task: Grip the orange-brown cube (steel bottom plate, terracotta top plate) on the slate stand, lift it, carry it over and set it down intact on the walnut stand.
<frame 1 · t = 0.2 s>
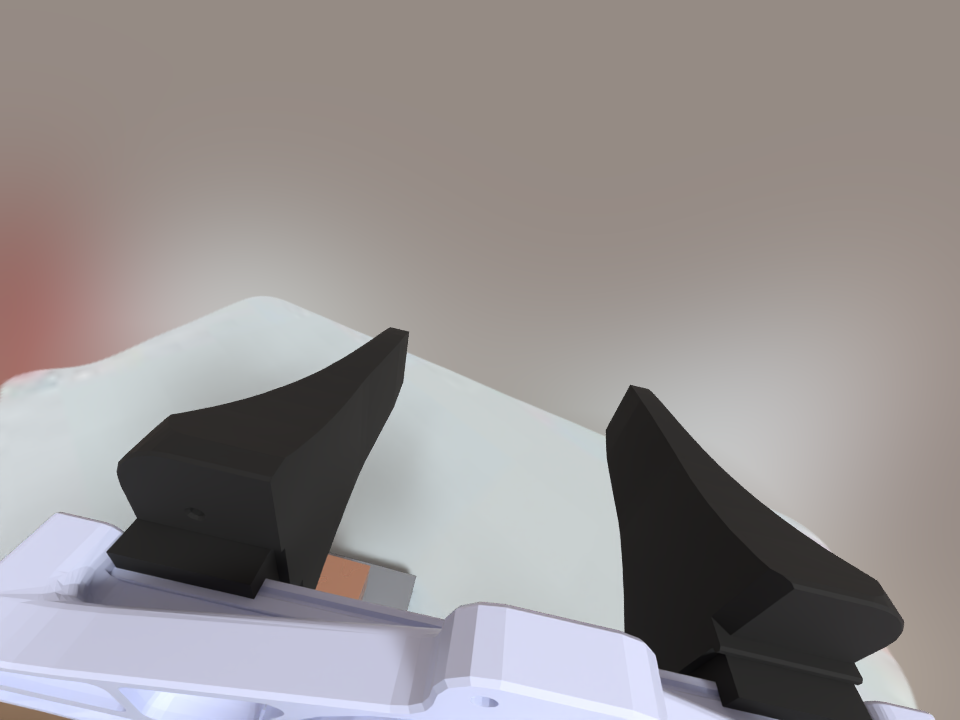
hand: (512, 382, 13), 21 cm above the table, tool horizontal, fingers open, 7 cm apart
slate stand: (307, 648, 23), on the table
orange-brown cube: (307, 640, 23), point 1 cm above the table, touching slate stand
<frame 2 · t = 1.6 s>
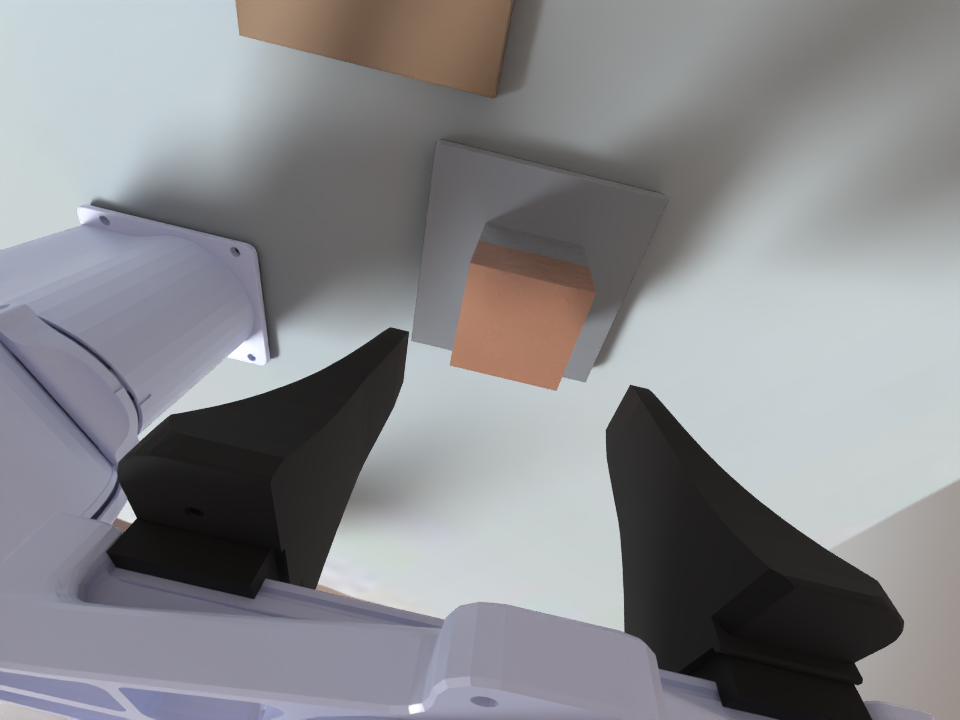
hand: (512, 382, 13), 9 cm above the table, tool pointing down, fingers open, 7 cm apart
slate stand: (522, 270, 21), on the table
orange-brown cube: (521, 280, 20), point 1 cm above the table, touching slate stand
champagne flute: (210, 510, 38), on the table
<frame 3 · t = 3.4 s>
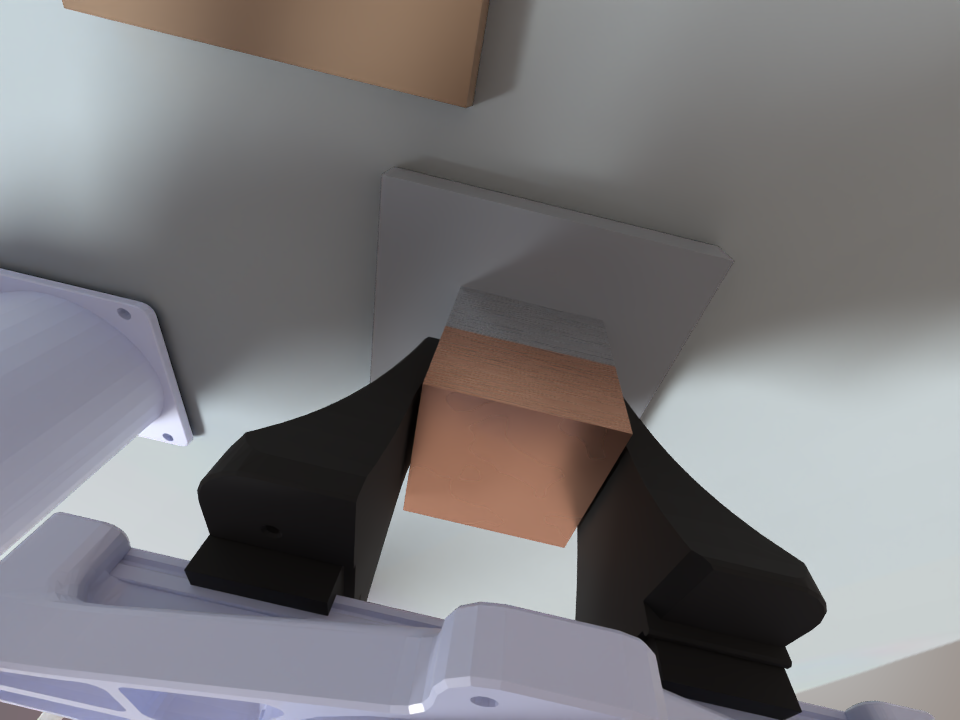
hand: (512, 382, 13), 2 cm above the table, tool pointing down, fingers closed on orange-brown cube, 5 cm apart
slate stand: (515, 343, 15), on the table
orange-brown cube: (514, 361, 14), point 1 cm above the table, touching gripper, slate stand
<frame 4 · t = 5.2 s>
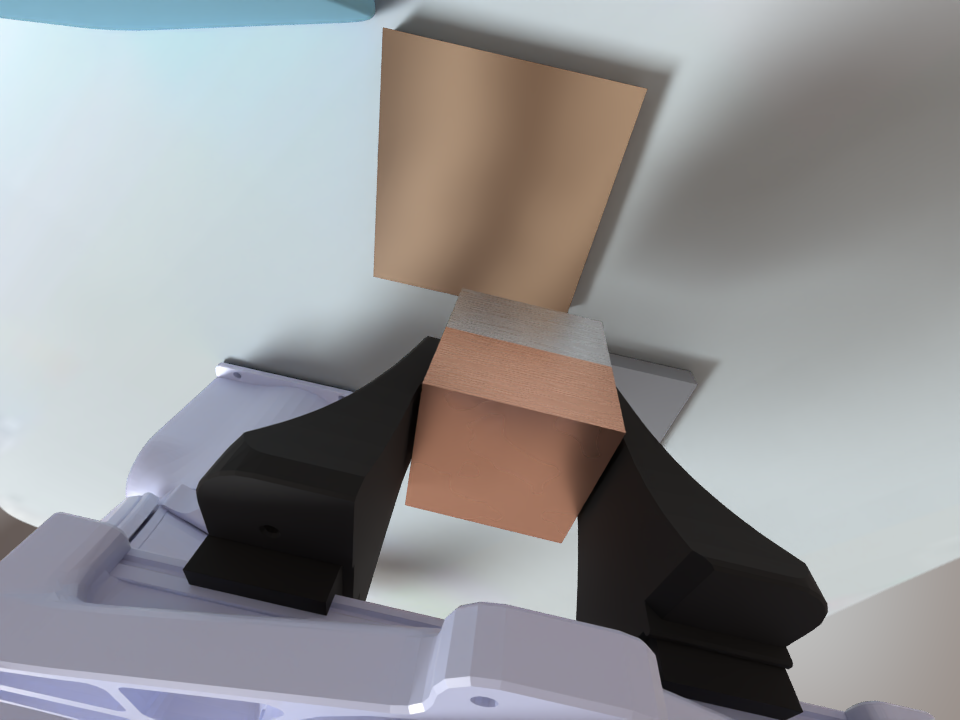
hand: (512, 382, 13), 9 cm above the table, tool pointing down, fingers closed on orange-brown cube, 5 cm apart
slate stand: (576, 415, 26), on the table
orange-brown cube: (514, 361, 14), point 8 cm above the table, touching gripper
walnut stand: (491, 191, 19), on the table
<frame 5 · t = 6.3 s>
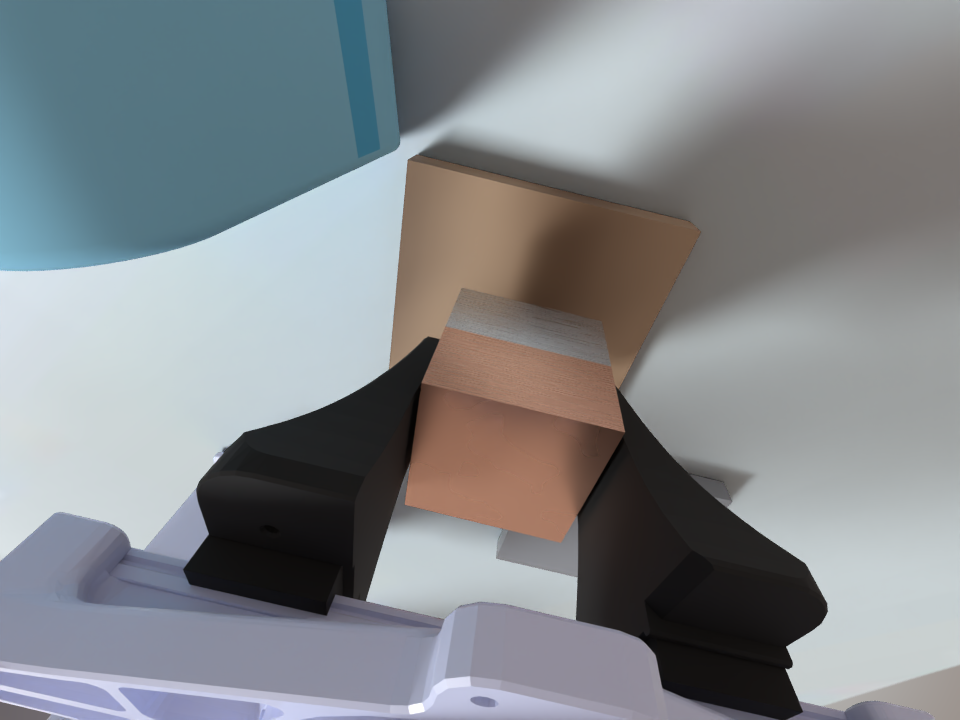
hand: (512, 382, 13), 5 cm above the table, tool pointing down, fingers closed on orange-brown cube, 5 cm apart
slate stand: (597, 515, 24), on the table
orange-brown cube: (514, 360, 14), point 4 cm above the table, touching gripper
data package: (234, 67, 14), on the table
walnut stand: (518, 310, 17), on the table
when the fingers open (4 cm above the table, at t = 7.0 s): orange-brown cube drops 1 cm, resting on walnut stand.
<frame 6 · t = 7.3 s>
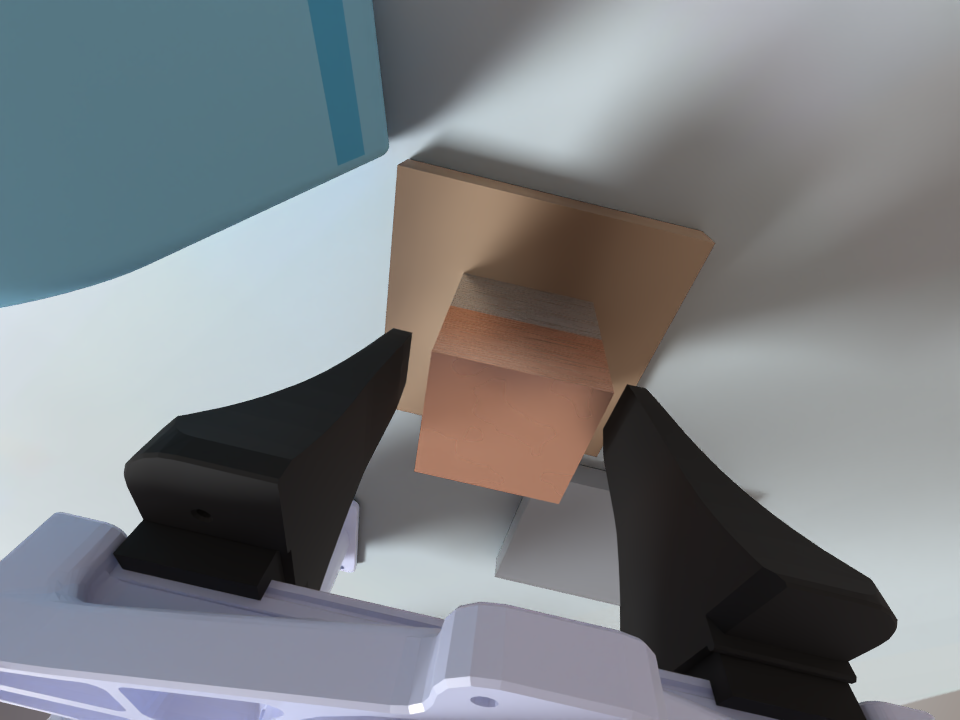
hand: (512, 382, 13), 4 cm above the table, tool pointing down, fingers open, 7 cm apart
slate stand: (600, 533, 23), on the table
orange-brown cube: (512, 342, 15), point 1 cm above the table, touching walnut stand
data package: (211, 65, 13), on the table
walnut stand: (517, 323, 16), on the table
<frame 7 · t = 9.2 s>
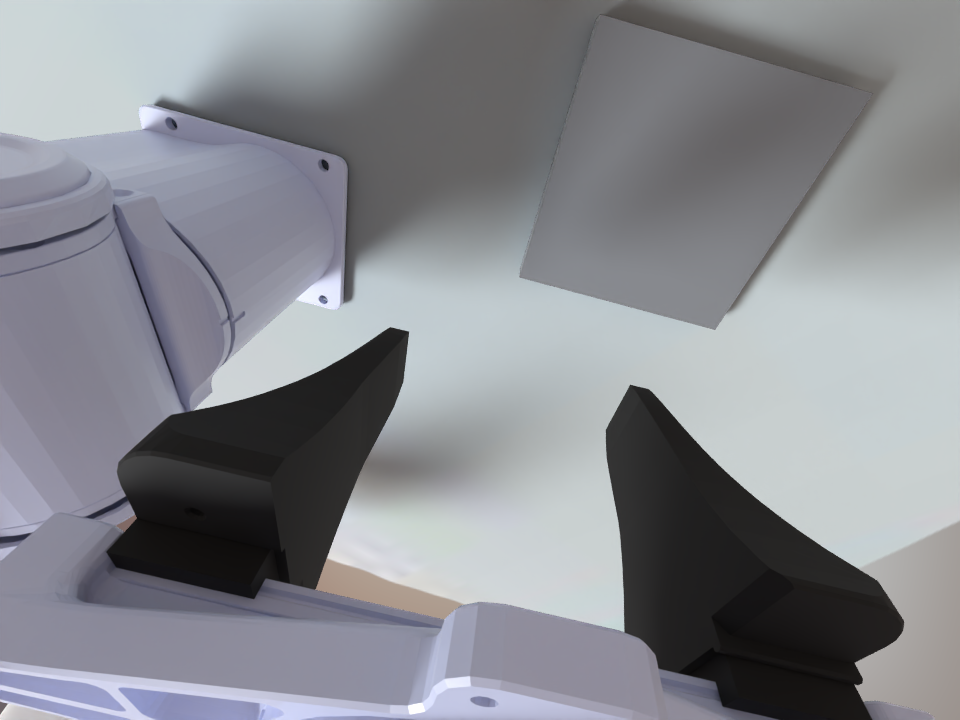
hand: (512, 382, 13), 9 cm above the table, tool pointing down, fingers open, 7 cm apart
slate stand: (660, 193, 18), on the table
champagne flute: (247, 483, 35), on the table
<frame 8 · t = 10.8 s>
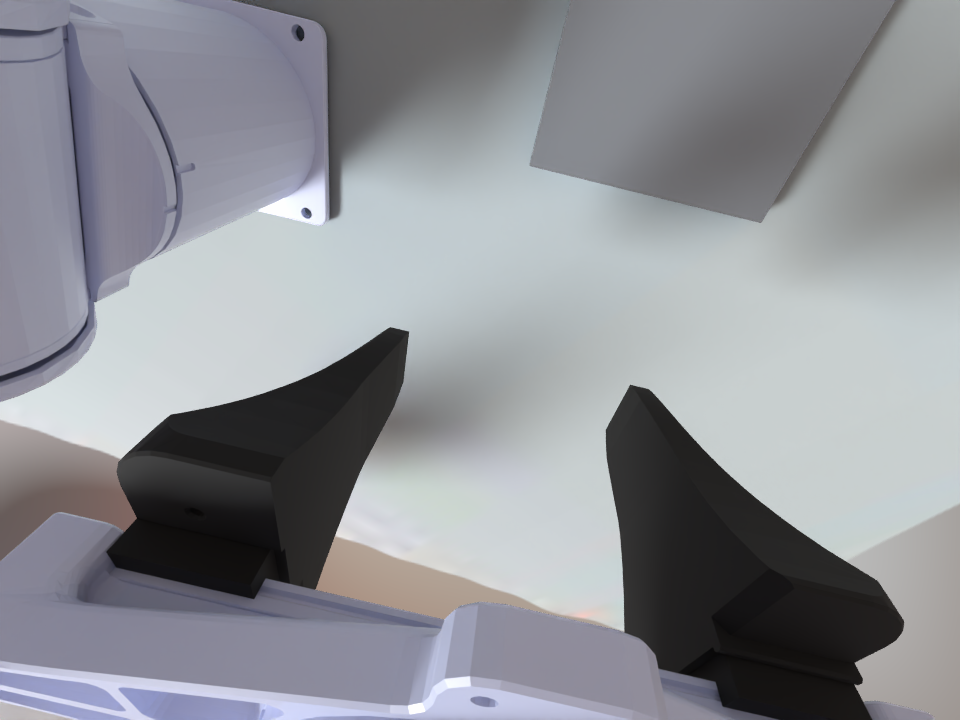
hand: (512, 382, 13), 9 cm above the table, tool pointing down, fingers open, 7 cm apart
slate stand: (697, 48, 15), on the table
champagne flute: (237, 448, 32), on the table
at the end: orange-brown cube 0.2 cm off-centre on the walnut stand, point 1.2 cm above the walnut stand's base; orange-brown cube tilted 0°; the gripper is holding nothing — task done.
